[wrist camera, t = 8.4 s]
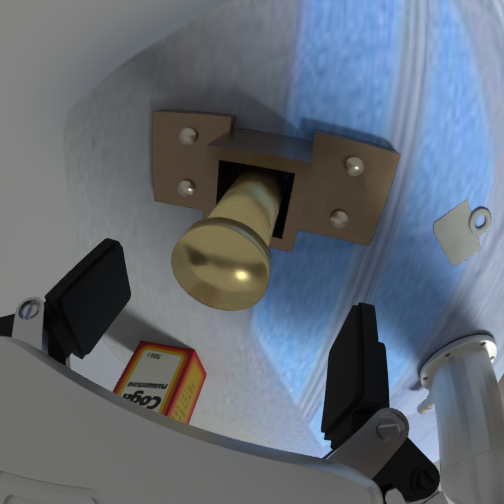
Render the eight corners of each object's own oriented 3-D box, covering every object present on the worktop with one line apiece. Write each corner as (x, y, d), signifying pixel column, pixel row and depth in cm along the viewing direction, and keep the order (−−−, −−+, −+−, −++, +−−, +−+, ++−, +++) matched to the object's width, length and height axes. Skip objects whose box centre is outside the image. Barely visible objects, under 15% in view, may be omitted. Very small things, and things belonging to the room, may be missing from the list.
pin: (289, 198, 23) (260, 319, 12) (241, 188, 23) (174, 297, 13) (298, 151, 20) (276, 243, 10) (246, 141, 21) (169, 220, 10)
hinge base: (367, 238, 23) (378, 283, 18) (160, 195, 25) (124, 227, 20) (396, 150, 18) (422, 176, 14) (160, 109, 20) (116, 123, 15)
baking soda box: (194, 349, 38) (153, 450, 25) (206, 374, 41) (173, 464, 28) (140, 340, 40) (94, 426, 27) (156, 365, 44) (118, 443, 31)
